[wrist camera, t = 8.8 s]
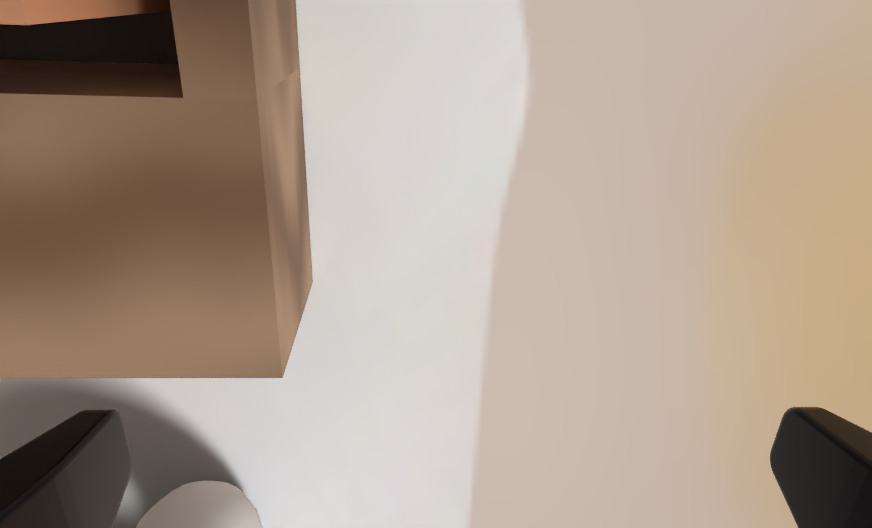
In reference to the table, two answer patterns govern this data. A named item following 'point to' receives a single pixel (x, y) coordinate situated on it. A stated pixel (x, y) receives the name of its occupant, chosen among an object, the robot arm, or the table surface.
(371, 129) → the table surface
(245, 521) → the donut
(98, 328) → the wooden divided tray
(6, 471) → the robot arm
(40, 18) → the staple
